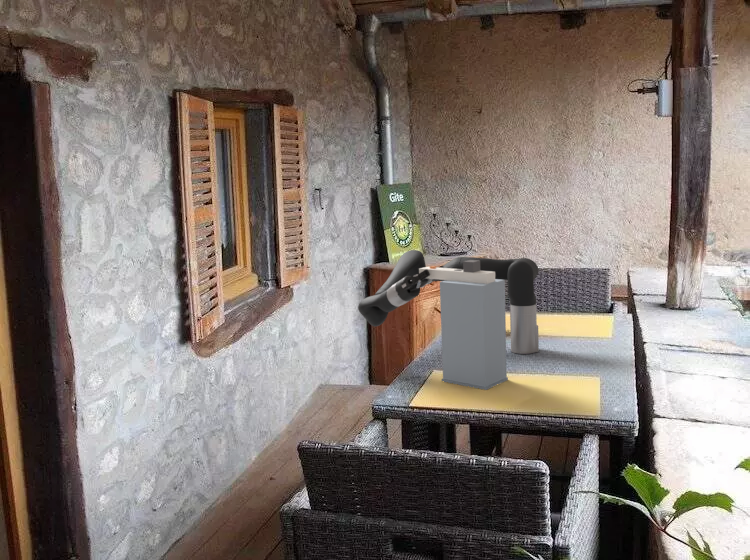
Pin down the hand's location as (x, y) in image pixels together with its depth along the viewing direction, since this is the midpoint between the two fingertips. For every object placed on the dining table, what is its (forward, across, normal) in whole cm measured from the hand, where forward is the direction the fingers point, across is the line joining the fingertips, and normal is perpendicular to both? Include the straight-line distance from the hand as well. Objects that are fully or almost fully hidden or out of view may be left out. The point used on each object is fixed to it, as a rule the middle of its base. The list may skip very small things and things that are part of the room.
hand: (436, 270), depth 247 cm
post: (-5, 0, -37) cm, 37 cm away
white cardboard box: (+6, 0, -6) cm, 8 cm away
